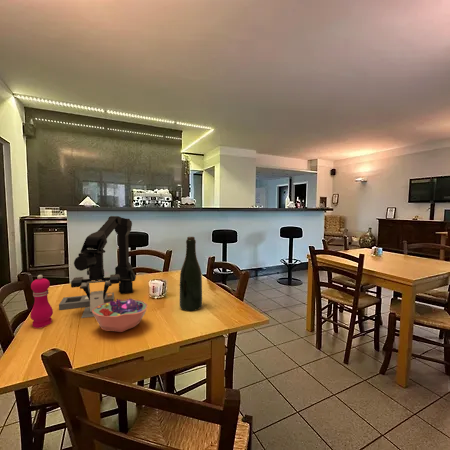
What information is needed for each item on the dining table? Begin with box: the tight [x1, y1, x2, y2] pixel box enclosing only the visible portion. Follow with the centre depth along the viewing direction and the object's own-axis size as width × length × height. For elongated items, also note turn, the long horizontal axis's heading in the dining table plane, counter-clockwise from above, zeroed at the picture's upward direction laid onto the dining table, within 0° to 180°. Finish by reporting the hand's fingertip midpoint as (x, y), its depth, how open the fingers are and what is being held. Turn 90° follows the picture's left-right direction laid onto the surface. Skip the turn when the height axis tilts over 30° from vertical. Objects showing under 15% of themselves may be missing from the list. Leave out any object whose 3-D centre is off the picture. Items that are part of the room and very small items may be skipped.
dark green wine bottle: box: [179, 236, 203, 312], centre depth 120 cm, size 10×10×33 cm
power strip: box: [58, 292, 115, 311], centre depth 123 cm, size 22×9×4 cm, turn 110°
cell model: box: [92, 298, 148, 333], centre depth 100 cm, size 17×20×11 cm
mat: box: [81, 307, 95, 319], centre depth 115 cm, size 11×11×1 cm
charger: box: [90, 290, 104, 312], centre depth 114 cm, size 5×5×7 cm
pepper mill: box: [29, 274, 54, 329], centre depth 102 cm, size 7×7×20 cm
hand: (97, 299), depth 114 cm, fingers closed on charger, 5 cm apart
